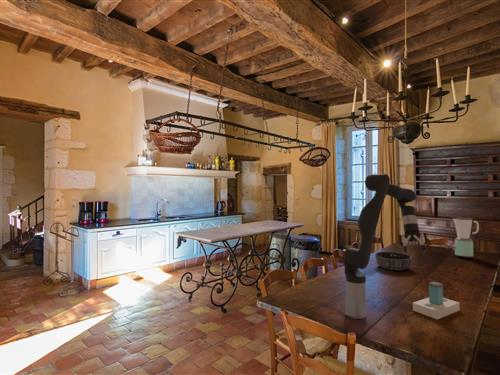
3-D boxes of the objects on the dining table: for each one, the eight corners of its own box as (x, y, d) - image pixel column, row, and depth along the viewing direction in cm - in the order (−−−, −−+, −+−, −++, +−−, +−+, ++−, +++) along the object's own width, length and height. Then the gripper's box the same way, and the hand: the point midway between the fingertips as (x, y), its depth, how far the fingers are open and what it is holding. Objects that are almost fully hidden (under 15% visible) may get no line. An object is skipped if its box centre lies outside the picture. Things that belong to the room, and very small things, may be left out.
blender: (451, 257, 258) (451, 217, 258) (453, 254, 269) (452, 216, 268) (479, 260, 246) (478, 218, 246) (479, 257, 257) (478, 217, 257)
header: (437, 319, 141) (437, 310, 141) (413, 310, 151) (412, 302, 151) (459, 310, 150) (459, 302, 150) (435, 302, 161) (435, 294, 161)
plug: (438, 313, 148) (437, 285, 148) (429, 309, 152) (428, 282, 152) (443, 311, 150) (442, 283, 150) (434, 308, 154) (433, 281, 154)
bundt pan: (419, 268, 226) (419, 255, 226) (401, 275, 211) (400, 261, 211) (386, 261, 248) (386, 249, 248) (368, 267, 233) (367, 254, 233)
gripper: (395, 224, 170) (400, 252, 165) (424, 221, 163) (429, 251, 158) (397, 226, 176) (402, 253, 171) (425, 223, 169) (430, 252, 164)
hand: (415, 252), depth 164 cm, fingers open, 8 cm apart
